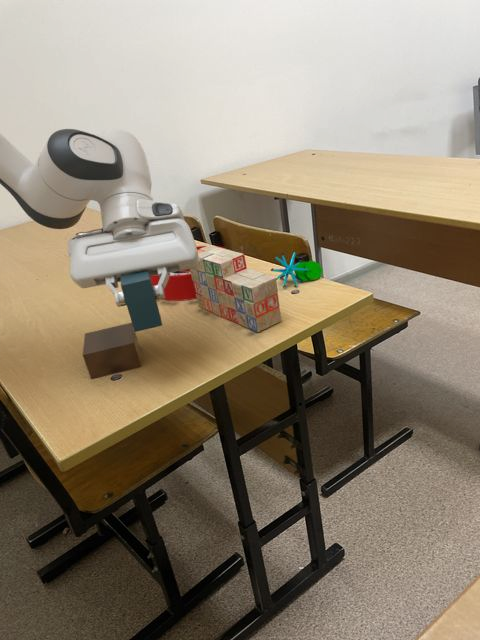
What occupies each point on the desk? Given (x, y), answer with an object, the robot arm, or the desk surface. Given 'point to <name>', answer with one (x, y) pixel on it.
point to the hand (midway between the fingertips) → (141, 301)
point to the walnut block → (111, 350)
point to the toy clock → (178, 284)
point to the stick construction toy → (298, 270)
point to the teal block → (140, 300)
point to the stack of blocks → (235, 289)
